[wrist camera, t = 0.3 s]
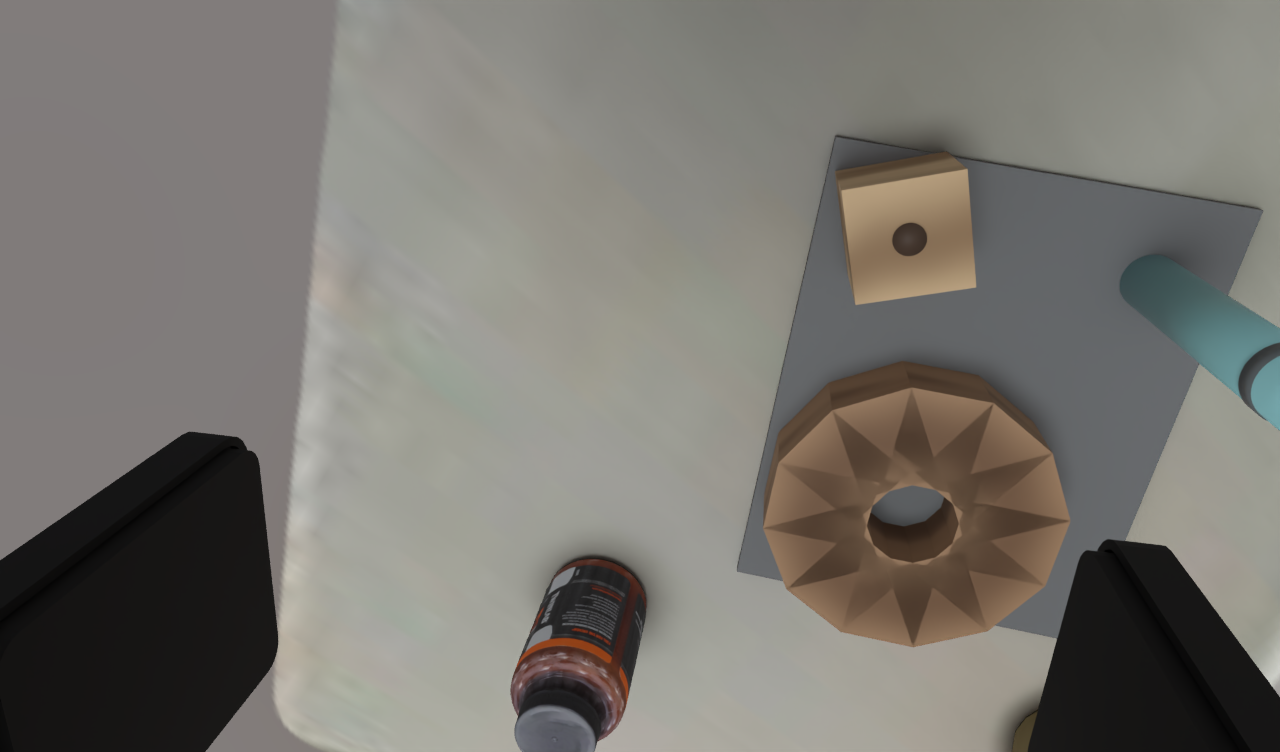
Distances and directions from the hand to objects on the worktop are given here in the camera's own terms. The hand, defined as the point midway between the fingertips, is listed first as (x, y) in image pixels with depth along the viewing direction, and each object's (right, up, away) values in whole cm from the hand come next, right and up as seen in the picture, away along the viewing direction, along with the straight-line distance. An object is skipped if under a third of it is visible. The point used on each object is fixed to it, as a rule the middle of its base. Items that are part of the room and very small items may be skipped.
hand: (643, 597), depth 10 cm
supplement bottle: (-2, -10, +43) cm, 45 cm away
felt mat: (+17, +1, +36) cm, 39 cm away
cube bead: (+12, +10, +32) cm, 36 cm away
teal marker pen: (+24, +7, +32) cm, 40 cm away
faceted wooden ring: (+14, -4, +37) cm, 40 cm away
